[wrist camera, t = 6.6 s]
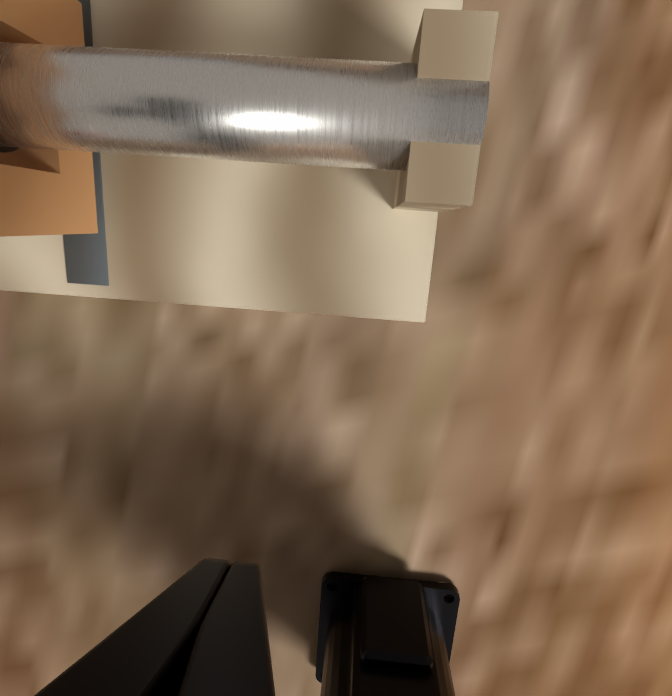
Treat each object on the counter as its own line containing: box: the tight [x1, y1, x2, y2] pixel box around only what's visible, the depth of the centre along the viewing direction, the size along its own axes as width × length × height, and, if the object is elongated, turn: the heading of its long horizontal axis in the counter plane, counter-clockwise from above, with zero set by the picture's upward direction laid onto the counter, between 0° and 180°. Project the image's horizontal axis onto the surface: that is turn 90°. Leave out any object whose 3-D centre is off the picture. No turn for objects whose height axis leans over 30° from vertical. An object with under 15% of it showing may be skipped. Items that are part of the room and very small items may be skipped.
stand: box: [0, 0, 499, 322], centre depth 14 cm, size 20×12×7 cm, turn 86°
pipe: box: [0, 42, 489, 171], centre depth 12 cm, size 20×3×3 cm, turn 86°
